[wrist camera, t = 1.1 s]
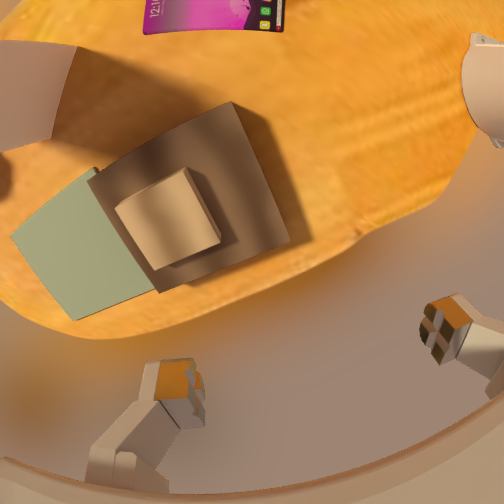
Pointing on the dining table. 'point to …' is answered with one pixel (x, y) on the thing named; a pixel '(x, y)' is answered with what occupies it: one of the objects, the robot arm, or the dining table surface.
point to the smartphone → (213, 15)
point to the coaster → (169, 220)
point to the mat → (79, 252)
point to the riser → (210, 187)
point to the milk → (30, 89)
